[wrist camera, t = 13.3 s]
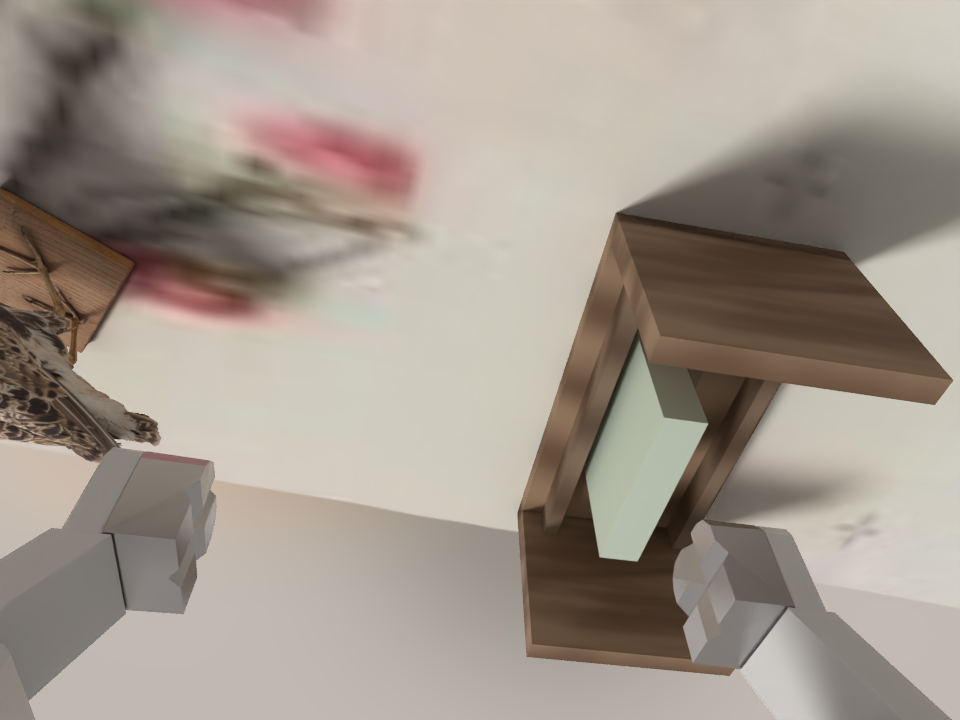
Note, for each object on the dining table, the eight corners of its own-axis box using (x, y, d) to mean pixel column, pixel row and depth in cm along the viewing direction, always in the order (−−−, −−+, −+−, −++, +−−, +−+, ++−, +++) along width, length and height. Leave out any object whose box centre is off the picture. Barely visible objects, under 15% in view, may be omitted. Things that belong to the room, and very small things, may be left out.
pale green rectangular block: (636, 330, 44) (663, 417, 38) (674, 336, 44) (708, 423, 38) (583, 465, 51) (599, 557, 45) (617, 469, 52) (637, 561, 45)
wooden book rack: (616, 213, 40) (660, 335, 31) (844, 252, 42) (953, 380, 32) (517, 513, 56) (526, 656, 46) (686, 533, 57) (729, 675, 48)
